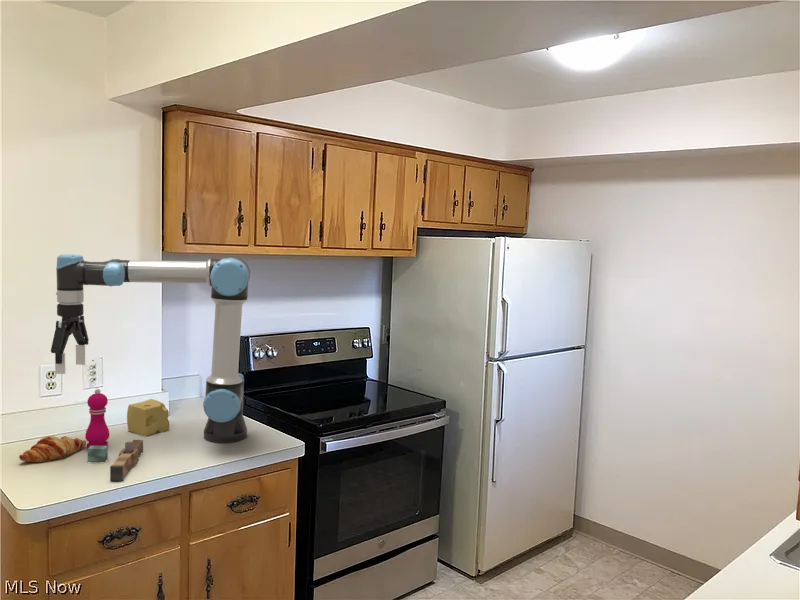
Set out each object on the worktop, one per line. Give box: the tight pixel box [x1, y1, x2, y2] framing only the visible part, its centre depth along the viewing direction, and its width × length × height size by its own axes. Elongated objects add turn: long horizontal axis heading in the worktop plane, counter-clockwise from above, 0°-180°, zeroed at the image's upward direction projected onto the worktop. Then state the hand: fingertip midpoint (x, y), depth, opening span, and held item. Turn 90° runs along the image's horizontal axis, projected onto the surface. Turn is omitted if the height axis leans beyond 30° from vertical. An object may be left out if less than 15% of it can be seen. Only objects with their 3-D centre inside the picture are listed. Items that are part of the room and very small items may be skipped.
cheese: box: [126, 398, 171, 437], centre depth 233 cm, size 10×11×10 cm
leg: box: [109, 447, 139, 482], centre depth 195 cm, size 16×5×4 cm, turn 8°
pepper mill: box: [84, 388, 110, 451], centre depth 212 cm, size 7×7×20 cm
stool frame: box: [87, 439, 144, 463], centre depth 204 cm, size 14×13×7 cm
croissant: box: [18, 435, 87, 463], centre depth 204 cm, size 21×10×8 cm, turn 150°
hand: (70, 369), depth 207 cm, fingers open, 13 cm apart
